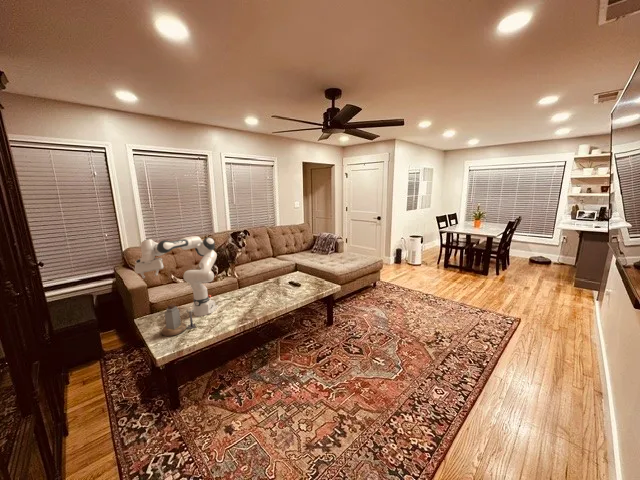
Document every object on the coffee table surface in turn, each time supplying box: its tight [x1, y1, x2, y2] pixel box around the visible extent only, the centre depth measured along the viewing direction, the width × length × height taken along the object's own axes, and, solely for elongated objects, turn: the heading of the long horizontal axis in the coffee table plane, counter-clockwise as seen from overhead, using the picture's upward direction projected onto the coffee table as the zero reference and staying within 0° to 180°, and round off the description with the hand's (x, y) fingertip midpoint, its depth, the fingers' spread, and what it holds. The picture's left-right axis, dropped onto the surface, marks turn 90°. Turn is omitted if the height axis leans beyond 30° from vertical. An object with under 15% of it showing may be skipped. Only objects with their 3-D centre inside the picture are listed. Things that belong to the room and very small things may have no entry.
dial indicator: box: [186, 305, 196, 330], centre depth 203 cm, size 5×5×17 cm
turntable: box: [161, 321, 187, 337], centre depth 198 cm, size 16×16×3 cm
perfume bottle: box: [164, 303, 182, 330], centre depth 196 cm, size 7×7×18 cm
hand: (150, 276), depth 202 cm, fingers open, 8 cm apart
